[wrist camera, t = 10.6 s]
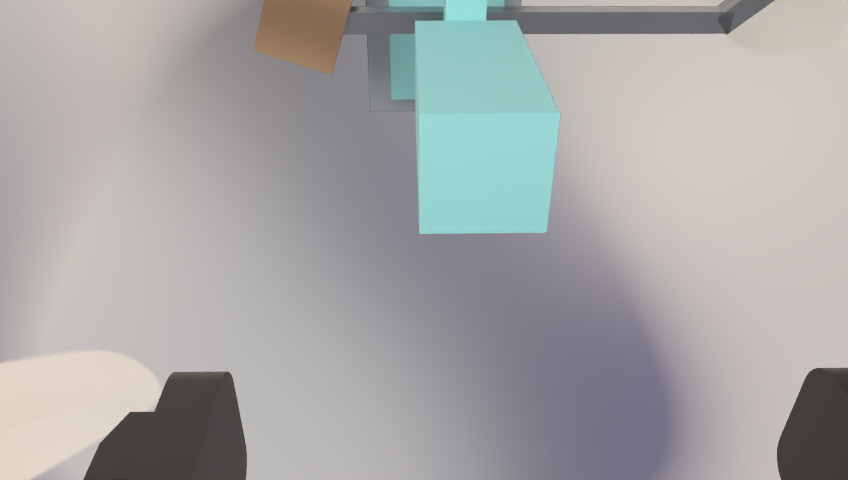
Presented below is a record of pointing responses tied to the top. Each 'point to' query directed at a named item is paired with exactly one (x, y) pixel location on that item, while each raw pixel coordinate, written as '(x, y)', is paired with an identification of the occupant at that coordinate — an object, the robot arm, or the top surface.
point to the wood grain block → (303, 31)
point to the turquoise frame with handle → (476, 121)
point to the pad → (388, 68)
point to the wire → (571, 18)
